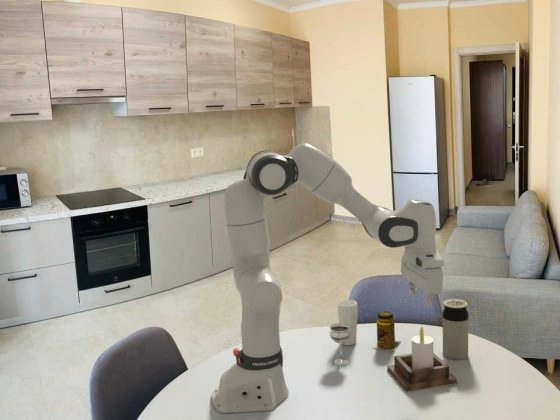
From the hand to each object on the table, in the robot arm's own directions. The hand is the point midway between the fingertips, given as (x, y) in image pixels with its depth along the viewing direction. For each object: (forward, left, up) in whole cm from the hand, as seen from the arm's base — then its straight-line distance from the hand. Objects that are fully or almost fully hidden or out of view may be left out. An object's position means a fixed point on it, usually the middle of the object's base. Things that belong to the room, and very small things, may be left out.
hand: (420, 299), depth 160 cm
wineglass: (-20, +17, -25) cm, 36 cm away
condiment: (-1, +24, -25) cm, 35 cm away
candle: (+1, 0, -23) cm, 23 cm away
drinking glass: (-13, +30, -25) cm, 41 cm away
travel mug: (+17, +10, -25) cm, 32 cm away
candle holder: (0, 0, -25) cm, 25 cm away
